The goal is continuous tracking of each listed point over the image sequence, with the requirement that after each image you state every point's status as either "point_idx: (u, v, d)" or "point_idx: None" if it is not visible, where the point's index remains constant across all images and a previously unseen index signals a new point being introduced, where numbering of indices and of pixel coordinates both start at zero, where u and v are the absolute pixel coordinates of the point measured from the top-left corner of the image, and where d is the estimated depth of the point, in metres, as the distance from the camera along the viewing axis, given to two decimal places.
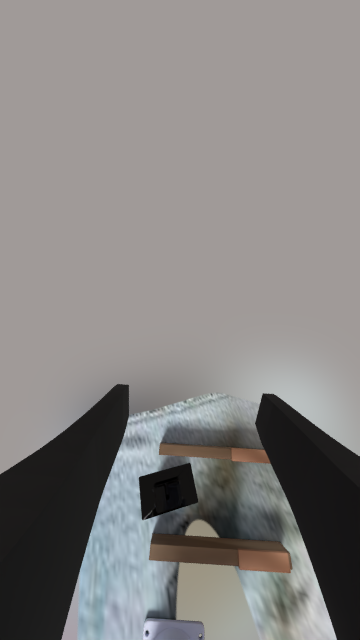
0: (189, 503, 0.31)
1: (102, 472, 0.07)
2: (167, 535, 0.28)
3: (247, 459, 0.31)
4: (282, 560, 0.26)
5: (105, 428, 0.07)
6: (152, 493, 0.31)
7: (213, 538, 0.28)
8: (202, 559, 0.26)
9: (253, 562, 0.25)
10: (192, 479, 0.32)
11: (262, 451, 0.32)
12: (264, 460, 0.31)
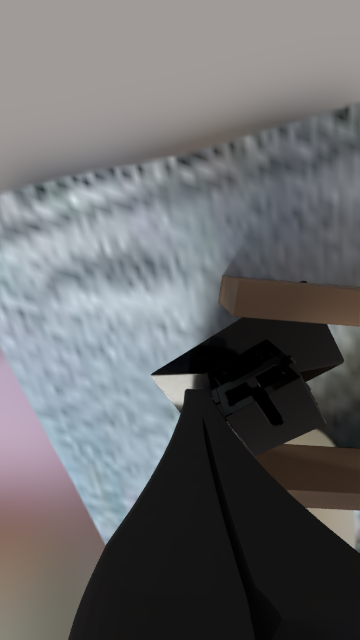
0: (306, 374, 0.12)
1: None
2: None
3: None
4: None
5: None
6: (209, 390, 0.12)
7: (326, 451, 0.13)
8: (321, 503, 0.11)
9: None
10: (307, 330, 0.11)
11: None
12: None
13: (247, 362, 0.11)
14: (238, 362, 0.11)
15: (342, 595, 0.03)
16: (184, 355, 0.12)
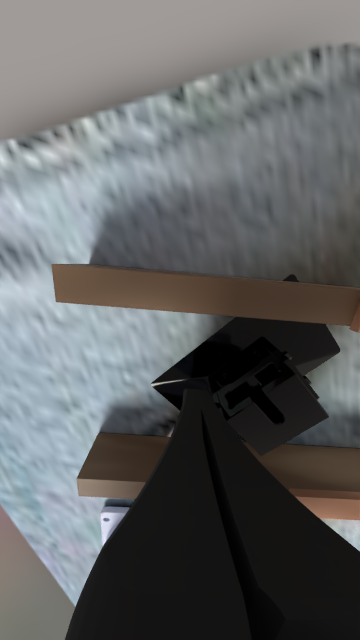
0: (308, 366, 0.12)
1: None
2: (129, 439, 0.13)
3: None
4: None
5: None
6: None
7: None
8: None
9: (321, 510, 0.11)
10: (303, 322, 0.11)
11: None
12: None
13: (246, 361, 0.11)
14: (237, 362, 0.11)
15: (346, 595, 0.03)
16: (183, 361, 0.12)
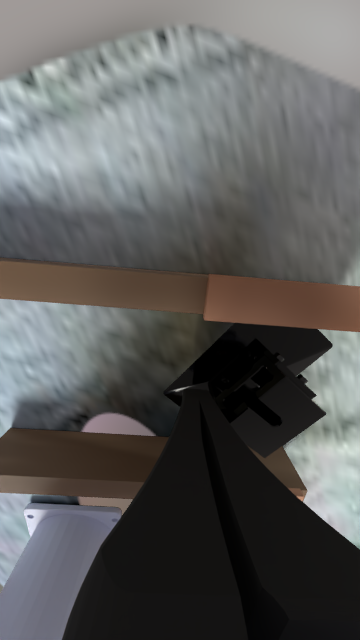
0: (307, 362, 0.12)
1: None
2: (40, 434, 0.13)
3: (269, 317, 0.07)
4: None
5: None
6: None
7: (140, 440, 0.13)
8: (97, 492, 0.11)
9: None
10: None
11: (347, 291, 0.07)
12: (340, 322, 0.07)
13: (242, 364, 0.11)
14: (233, 366, 0.11)
15: (349, 595, 0.03)
16: None
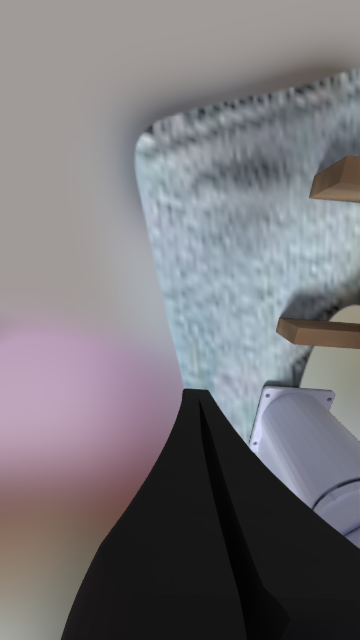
0: None
1: None
2: (304, 320, 0.18)
3: None
4: None
5: None
6: None
7: None
8: None
9: None
10: None
11: None
12: None
13: None
14: None
15: (351, 596, 0.03)
16: None
